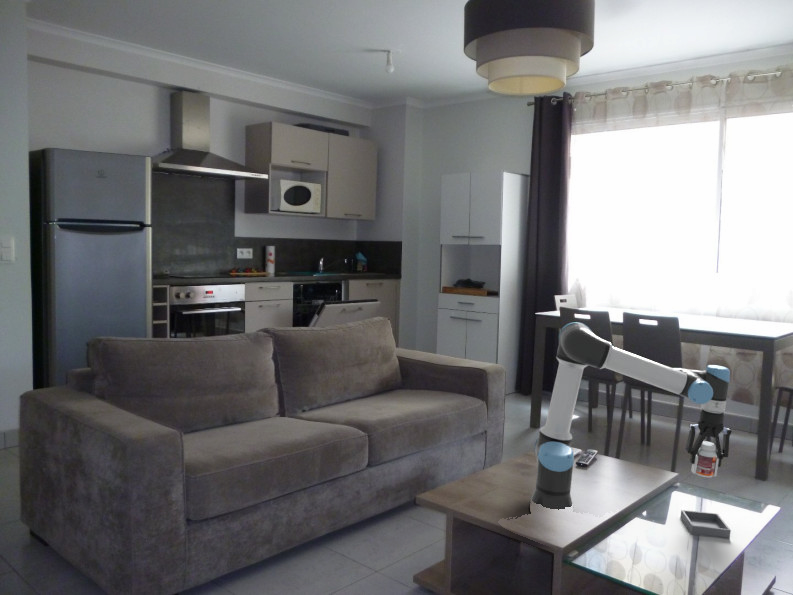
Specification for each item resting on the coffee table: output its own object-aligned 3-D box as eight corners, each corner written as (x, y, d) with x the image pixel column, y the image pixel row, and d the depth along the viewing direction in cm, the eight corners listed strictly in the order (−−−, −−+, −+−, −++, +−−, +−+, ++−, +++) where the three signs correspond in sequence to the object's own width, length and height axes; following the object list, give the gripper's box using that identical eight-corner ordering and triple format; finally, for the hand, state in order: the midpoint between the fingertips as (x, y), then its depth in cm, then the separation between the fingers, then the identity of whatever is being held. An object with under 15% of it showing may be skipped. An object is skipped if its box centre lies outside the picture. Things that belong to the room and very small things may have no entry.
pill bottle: (714, 479, 226) (719, 448, 224) (695, 475, 228) (699, 444, 226) (711, 472, 232) (716, 442, 230) (692, 469, 234) (697, 439, 232)
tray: (691, 534, 216) (692, 526, 216) (680, 517, 228) (681, 509, 227) (729, 538, 215) (730, 530, 214) (716, 521, 226) (717, 513, 226)
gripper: (687, 410, 224) (678, 474, 227) (746, 416, 222) (736, 481, 225) (680, 404, 231) (672, 466, 235) (737, 409, 229) (728, 472, 232)
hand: (703, 473), depth 230 cm, fingers closed on pill bottle, 6 cm apart
